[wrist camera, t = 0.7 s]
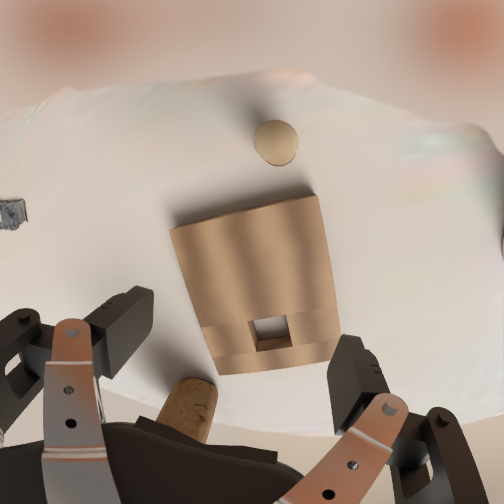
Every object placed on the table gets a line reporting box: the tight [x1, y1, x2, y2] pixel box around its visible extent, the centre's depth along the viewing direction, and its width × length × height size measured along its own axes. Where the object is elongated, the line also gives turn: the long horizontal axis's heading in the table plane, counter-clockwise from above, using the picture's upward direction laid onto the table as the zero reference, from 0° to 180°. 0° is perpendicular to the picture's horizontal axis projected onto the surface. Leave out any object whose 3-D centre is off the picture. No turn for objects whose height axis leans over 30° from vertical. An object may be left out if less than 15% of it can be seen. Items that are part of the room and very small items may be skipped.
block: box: [156, 378, 218, 444], centre depth 34 cm, size 11×8×20 cm
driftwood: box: [0, 200, 28, 230], centre depth 40 cm, size 21×7×2 cm, turn 84°
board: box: [169, 194, 341, 375], centre depth 36 cm, size 18×22×3 cm
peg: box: [254, 120, 298, 166], centre depth 27 cm, size 4×4×10 cm
